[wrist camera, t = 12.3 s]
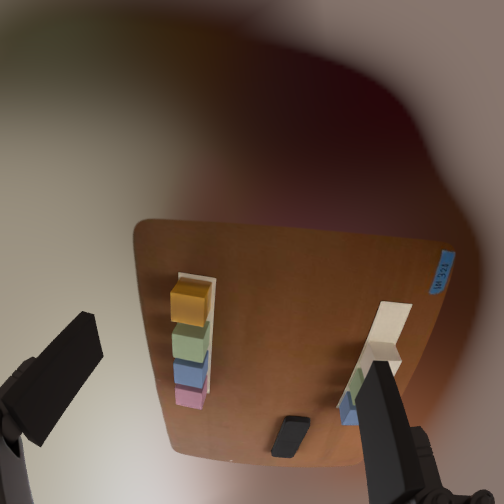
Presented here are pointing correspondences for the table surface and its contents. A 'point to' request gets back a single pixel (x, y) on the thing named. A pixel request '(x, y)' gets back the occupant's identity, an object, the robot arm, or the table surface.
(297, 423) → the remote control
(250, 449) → the table surface
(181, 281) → the block
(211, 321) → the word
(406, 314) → the white strip with cubes
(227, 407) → the table surface
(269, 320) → the table surface
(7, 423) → the robot arm
